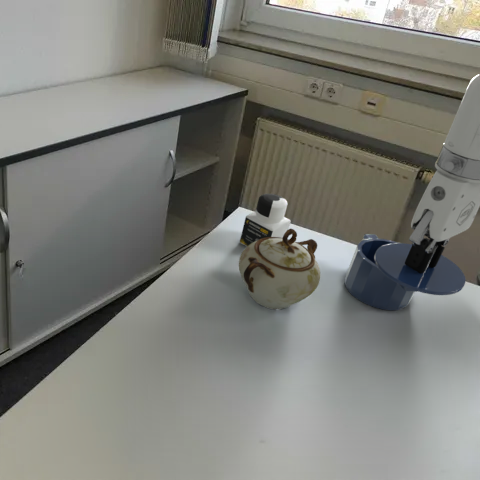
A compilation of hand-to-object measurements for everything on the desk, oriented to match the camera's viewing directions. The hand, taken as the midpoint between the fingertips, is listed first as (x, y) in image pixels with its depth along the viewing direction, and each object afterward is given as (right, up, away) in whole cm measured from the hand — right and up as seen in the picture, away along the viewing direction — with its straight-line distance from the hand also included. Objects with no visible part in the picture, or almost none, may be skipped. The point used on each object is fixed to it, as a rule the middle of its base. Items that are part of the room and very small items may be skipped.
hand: (419, 265), depth 88 cm
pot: (+3, -6, +22) cm, 23 cm away
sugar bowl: (-19, -7, +18) cm, 27 cm away
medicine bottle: (-17, +3, +33) cm, 37 cm away
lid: (0, -1, 0) cm, 1 cm away
